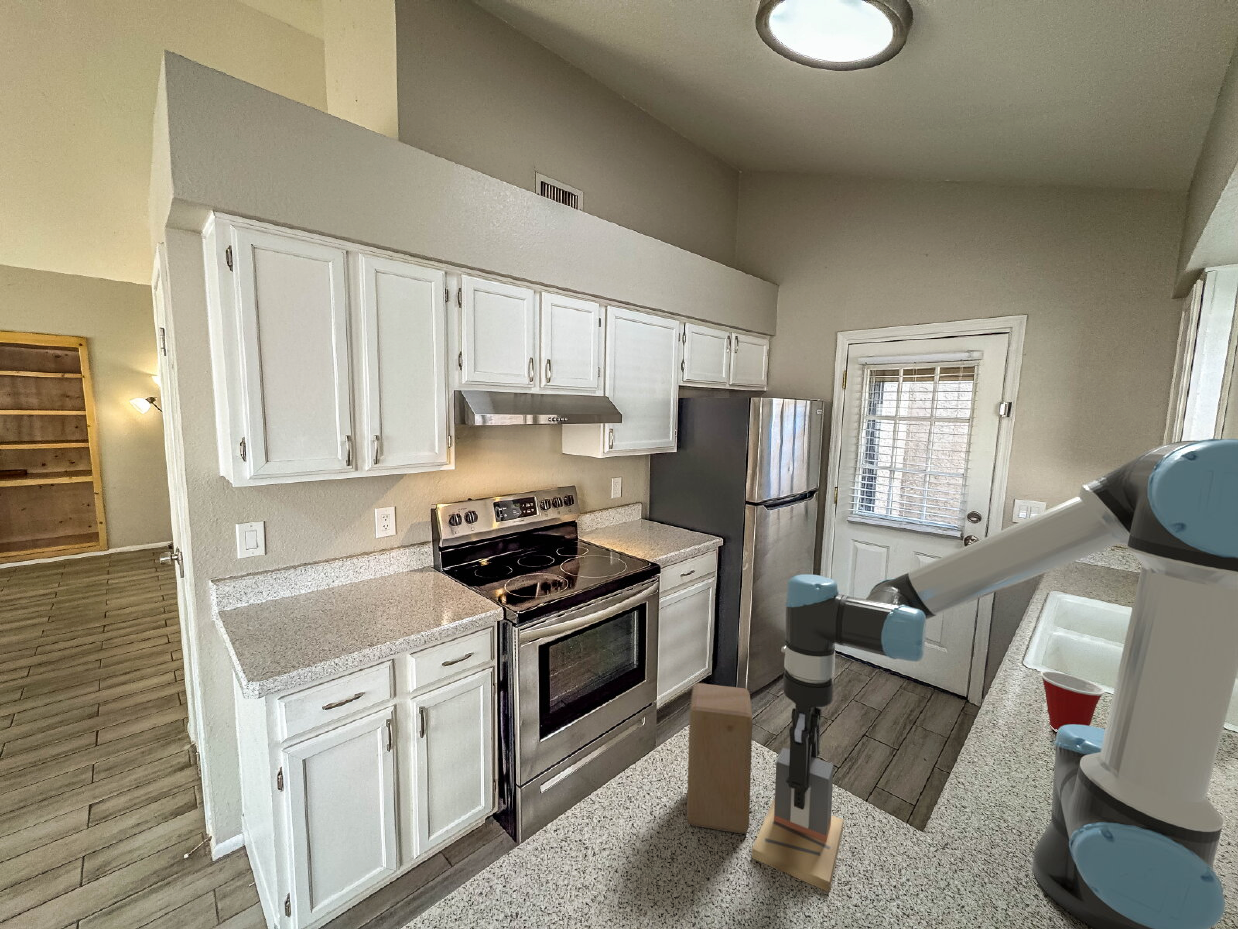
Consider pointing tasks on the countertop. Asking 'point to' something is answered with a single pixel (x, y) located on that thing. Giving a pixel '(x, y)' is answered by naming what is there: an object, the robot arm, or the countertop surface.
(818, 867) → the board
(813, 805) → the block
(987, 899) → the countertop surface
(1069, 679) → the plastic cup
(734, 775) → the wooden block
